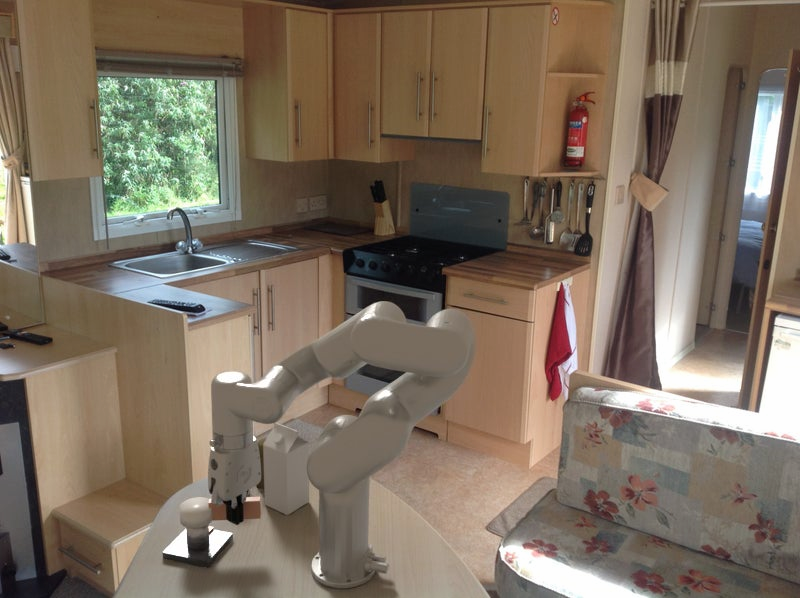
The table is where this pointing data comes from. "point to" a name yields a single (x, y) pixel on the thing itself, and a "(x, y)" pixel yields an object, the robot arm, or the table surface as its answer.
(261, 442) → the olive pear
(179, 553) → the coupling base
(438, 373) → the robot arm
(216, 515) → the orange bar with ball
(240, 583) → the table surface
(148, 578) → the table surface
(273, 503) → the milk carton
